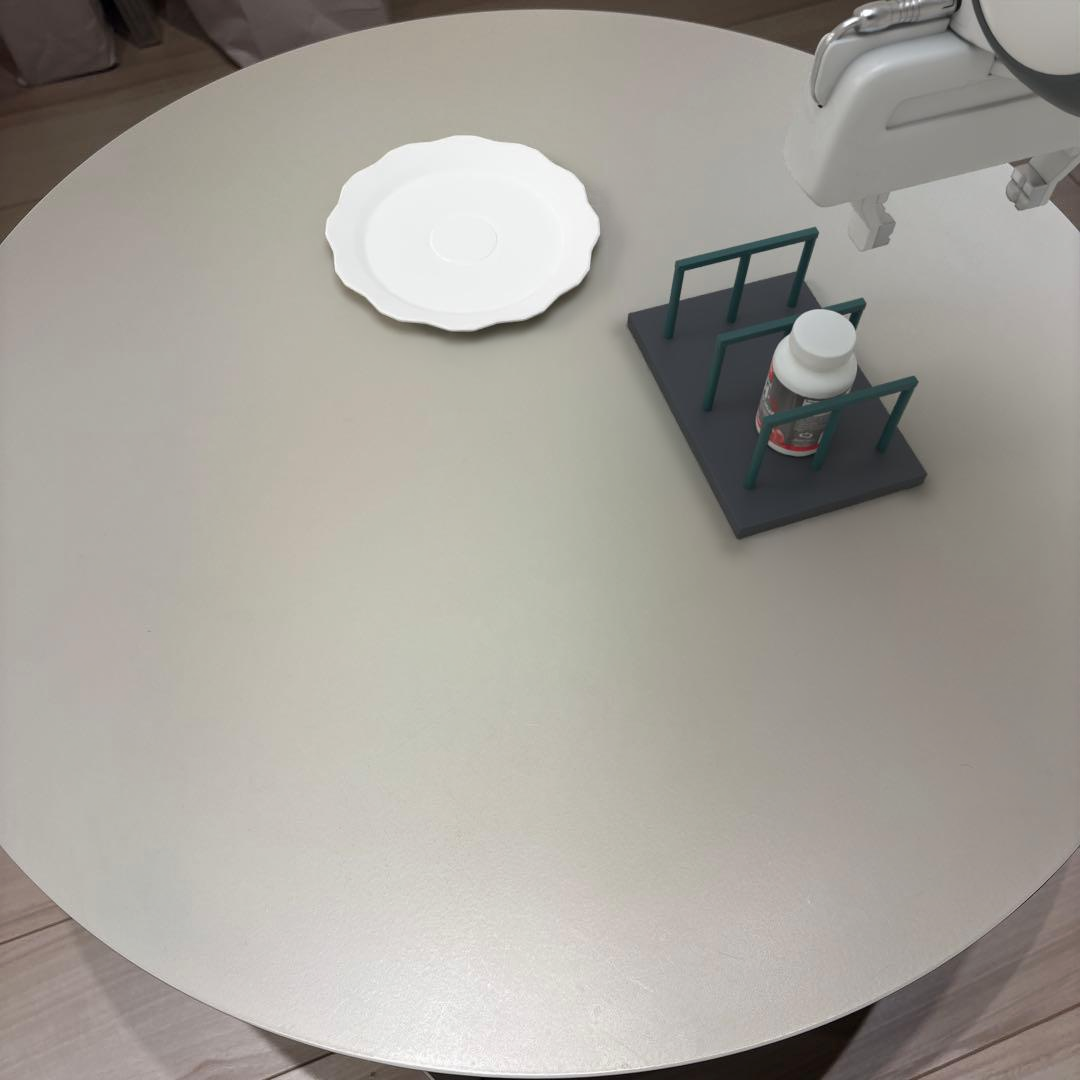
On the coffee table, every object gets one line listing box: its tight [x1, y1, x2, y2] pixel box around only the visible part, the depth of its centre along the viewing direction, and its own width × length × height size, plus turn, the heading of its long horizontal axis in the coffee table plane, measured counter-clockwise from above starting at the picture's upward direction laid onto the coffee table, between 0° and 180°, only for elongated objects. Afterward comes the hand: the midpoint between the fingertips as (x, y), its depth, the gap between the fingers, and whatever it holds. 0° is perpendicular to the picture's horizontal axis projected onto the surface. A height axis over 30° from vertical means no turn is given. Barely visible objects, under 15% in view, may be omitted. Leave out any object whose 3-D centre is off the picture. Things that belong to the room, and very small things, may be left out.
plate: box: [324, 134, 601, 332], centre depth 89 cm, size 21×21×2 cm
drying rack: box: [626, 226, 928, 539], centre depth 78 cm, size 20×14×8 cm
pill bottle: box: [756, 309, 858, 456], centre depth 75 cm, size 5×5×10 cm
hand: (946, 220), depth 60 cm, fingers open, 8 cm apart
